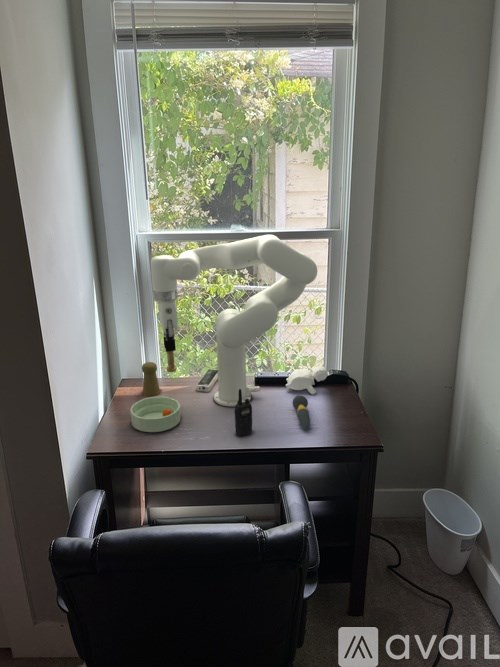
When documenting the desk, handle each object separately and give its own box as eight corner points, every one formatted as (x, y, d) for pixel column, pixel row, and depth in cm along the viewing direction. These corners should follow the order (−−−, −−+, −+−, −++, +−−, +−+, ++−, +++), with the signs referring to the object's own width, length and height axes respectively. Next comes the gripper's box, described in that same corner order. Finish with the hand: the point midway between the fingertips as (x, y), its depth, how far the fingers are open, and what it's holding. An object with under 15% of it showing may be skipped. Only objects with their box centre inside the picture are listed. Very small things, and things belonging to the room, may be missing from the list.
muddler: (175, 367, 173) (172, 331, 168) (177, 371, 170) (174, 334, 165) (166, 369, 172) (163, 332, 167) (167, 372, 169) (164, 335, 164)
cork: (154, 386, 186) (151, 358, 182) (163, 392, 182) (161, 363, 178) (139, 392, 182) (136, 363, 179) (148, 397, 178) (146, 368, 174)
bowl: (176, 407, 171) (175, 393, 169) (184, 429, 157) (183, 414, 155) (130, 414, 167) (128, 400, 165) (134, 437, 153) (132, 422, 151)
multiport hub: (219, 375, 195) (219, 370, 194) (208, 392, 181) (208, 386, 181) (208, 374, 196) (208, 369, 195) (196, 390, 182) (196, 385, 182)
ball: (171, 415, 164) (170, 406, 163) (172, 419, 162) (172, 411, 161) (162, 416, 164) (161, 408, 163) (163, 421, 161) (162, 412, 160)
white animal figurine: (291, 401, 180) (332, 388, 177) (282, 380, 178) (323, 367, 175) (292, 390, 188) (331, 378, 185) (283, 370, 186) (323, 357, 183)
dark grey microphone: (318, 432, 154) (319, 417, 153) (302, 433, 154) (302, 418, 152) (304, 402, 173) (304, 389, 171) (289, 403, 172) (289, 390, 171)
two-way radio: (238, 438, 152) (237, 392, 147) (231, 431, 155) (230, 386, 150) (254, 433, 154) (254, 388, 149) (247, 427, 158) (246, 382, 153)
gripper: (181, 300, 156) (185, 356, 162) (173, 288, 170) (177, 340, 176) (156, 302, 154) (161, 359, 160) (150, 290, 168) (155, 342, 174)
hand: (170, 348), depth 168 cm, fingers closed on muddler, 2 cm apart
